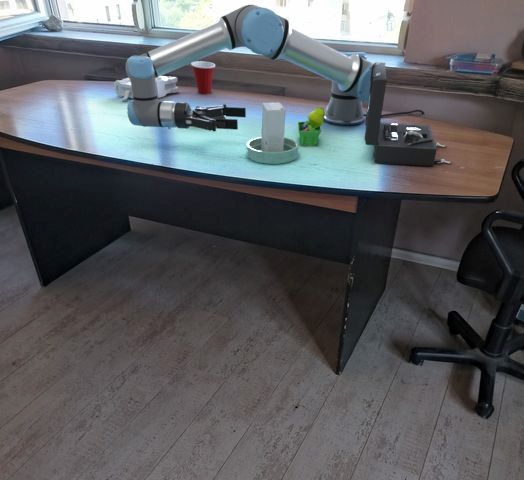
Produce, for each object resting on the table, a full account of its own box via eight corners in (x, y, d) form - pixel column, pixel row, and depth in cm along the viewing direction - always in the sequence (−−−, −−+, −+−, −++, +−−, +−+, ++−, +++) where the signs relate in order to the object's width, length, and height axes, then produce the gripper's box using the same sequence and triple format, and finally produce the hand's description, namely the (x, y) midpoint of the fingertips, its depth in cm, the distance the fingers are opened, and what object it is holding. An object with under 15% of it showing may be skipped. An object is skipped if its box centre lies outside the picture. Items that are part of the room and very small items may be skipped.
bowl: (299, 149, 163) (300, 137, 161) (294, 166, 151) (295, 154, 148) (251, 146, 165) (251, 135, 162) (242, 163, 152) (242, 151, 150)
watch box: (451, 168, 150) (474, 80, 134) (360, 162, 153) (372, 76, 137) (442, 142, 169) (461, 62, 153) (362, 138, 173) (372, 59, 157)
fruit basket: (297, 136, 174) (298, 102, 166) (321, 136, 174) (324, 102, 166) (297, 146, 165) (299, 111, 158) (323, 147, 165) (326, 111, 158)
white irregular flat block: (106, 98, 215) (102, 79, 210) (151, 87, 232) (149, 68, 227) (136, 105, 206) (132, 85, 201) (181, 92, 224) (179, 74, 219)
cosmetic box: (260, 151, 160) (260, 102, 150) (278, 150, 161) (279, 101, 151) (266, 159, 154) (266, 109, 144) (284, 158, 155) (286, 108, 145)
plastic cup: (207, 96, 218) (205, 66, 210) (188, 93, 222) (186, 63, 215) (221, 91, 225) (220, 62, 217) (202, 88, 229) (201, 60, 222)
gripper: (188, 117, 166) (248, 120, 164) (166, 139, 147) (234, 143, 145) (186, 93, 161) (248, 95, 159) (162, 112, 142) (233, 116, 140)
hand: (241, 118), depth 152 cm, fingers open, 13 cm apart
